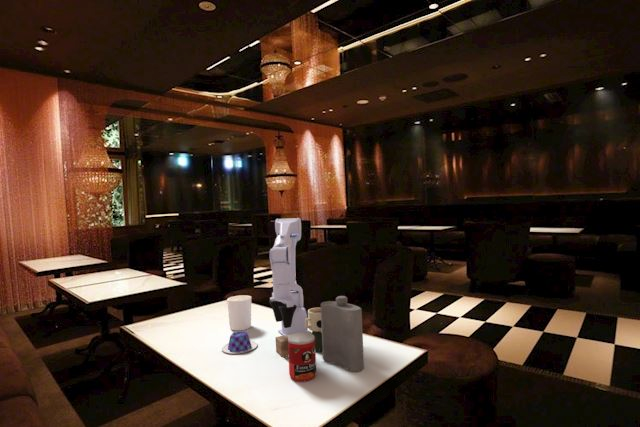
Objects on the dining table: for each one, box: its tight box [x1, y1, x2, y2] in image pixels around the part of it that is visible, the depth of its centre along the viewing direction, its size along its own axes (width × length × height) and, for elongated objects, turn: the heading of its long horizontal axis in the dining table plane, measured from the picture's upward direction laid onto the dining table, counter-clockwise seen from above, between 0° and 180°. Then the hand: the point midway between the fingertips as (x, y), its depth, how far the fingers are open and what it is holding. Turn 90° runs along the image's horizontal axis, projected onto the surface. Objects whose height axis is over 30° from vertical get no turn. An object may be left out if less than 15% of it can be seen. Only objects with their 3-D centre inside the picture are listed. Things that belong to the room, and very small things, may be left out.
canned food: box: [287, 332, 317, 383], centre depth 102 cm, size 8×8×11 cm
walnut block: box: [275, 334, 290, 358], centre depth 119 cm, size 5×5×5 cm
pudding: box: [221, 330, 258, 354], centre depth 125 cm, size 12×12×5 cm
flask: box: [320, 295, 365, 373], centre depth 109 cm, size 15×6×20 cm, turn 44°
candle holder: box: [226, 294, 253, 332], centre depth 147 cm, size 10×10×12 cm
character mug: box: [305, 306, 323, 351], centre depth 121 cm, size 11×7×13 cm, turn 128°
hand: (283, 324), depth 119 cm, fingers open, 7 cm apart
